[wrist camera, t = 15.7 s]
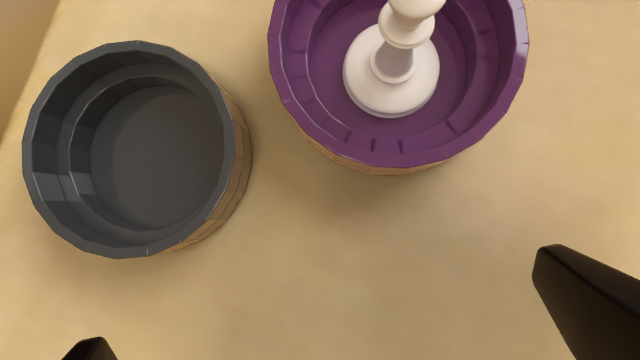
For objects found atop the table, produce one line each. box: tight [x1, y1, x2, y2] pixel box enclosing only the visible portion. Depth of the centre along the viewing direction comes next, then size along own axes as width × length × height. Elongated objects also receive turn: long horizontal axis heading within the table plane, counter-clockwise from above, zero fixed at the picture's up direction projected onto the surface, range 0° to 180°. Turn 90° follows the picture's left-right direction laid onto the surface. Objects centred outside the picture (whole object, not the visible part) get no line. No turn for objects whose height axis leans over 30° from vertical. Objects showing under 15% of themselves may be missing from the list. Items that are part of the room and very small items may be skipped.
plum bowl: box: [267, 0, 529, 175], centre depth 20 cm, size 11×11×4 cm
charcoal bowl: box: [22, 40, 252, 259], centre depth 20 cm, size 10×10×4 cm
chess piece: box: [343, 0, 446, 118], centre depth 16 cm, size 5×5×10 cm
